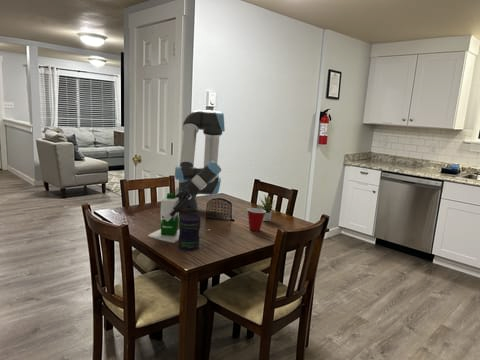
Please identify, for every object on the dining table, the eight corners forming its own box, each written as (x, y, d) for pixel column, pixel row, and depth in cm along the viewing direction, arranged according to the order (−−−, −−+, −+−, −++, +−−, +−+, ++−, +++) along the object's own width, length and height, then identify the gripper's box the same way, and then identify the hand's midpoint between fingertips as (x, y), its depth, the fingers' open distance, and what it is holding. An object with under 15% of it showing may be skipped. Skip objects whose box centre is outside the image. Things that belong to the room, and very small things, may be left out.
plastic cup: (266, 229, 202) (268, 209, 199) (260, 234, 192) (262, 213, 189) (249, 225, 205) (251, 205, 203) (242, 230, 196) (244, 209, 193)
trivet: (164, 228, 188) (164, 226, 188) (189, 234, 183) (189, 232, 183) (148, 236, 174) (148, 235, 174) (174, 242, 169) (174, 241, 169)
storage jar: (192, 242, 172) (194, 213, 170) (202, 249, 165) (204, 218, 162) (174, 245, 166) (175, 215, 164) (184, 252, 159) (185, 221, 156)
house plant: (249, 216, 223) (251, 191, 220) (269, 216, 227) (272, 192, 224) (257, 224, 209) (260, 197, 206) (278, 223, 214) (281, 197, 211)
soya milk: (179, 230, 183) (180, 193, 180) (176, 236, 174) (177, 197, 171) (162, 229, 183) (163, 192, 180) (158, 235, 174) (159, 196, 171)
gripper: (207, 195, 172) (173, 228, 168) (194, 185, 190) (164, 215, 187) (197, 185, 168) (162, 218, 165) (185, 176, 187) (154, 206, 183)
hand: (163, 217), depth 176 cm, fingers closed on soya milk, 8 cm apart
